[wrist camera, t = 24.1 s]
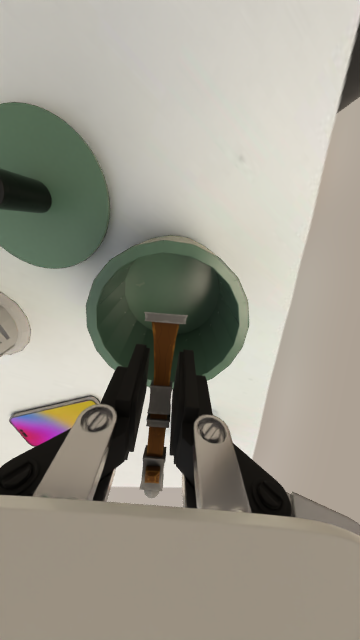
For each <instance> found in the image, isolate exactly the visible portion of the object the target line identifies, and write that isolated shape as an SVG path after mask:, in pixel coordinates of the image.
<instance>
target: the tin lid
mask: <svg viewBox="0 0 360 640" xmlns="http://www.w3.org/2000/svg"><path fill="white" fill-rule="evenodd" d="M109 216H110V201H109V193H108V188H107V184H106V181H105V177H104V174H103V172H102V169H101V167H100V165H99V163H98V161H97V159H96V157H95V155H94V154H93V152H92V151H91V149H90V148H89V146H88V145H87V144H86V142H85V141H84V140H83V139H82V138H81V136H80V135H79V134H78V133H77V132H76V131H75V130H74V129H73V128H71V127H70V126H69V125H68V124H67V123H66V122H64V121H63V120H62V119H60V118H59V117H58V116H56V115H54V114H52V113H51V112H49V111H47V110H45V109H42V108H40V107H38V106H34V105H31V104H27V103H18V102H11V103H3V104H0V246H1V247H3V248H4V249H5V250H6V251H8V252H9V253H11V254H12V255H14V256H15V257H17V258H19V259H20V260H23V261H25V262H27V263H29V264H32V265H35V266H39V267H44V268H53V269H56V268H66V267H70V266H73V265H76V264H79V263H81V262H82V261H84V260H86V259H87V258H88V257H90V256H91V255H92V254H93V253H94V252H95V251H96V250H97V249H98V247H99V246H100V244H101V243H102V241H103V238H104V236H105V234H106V231H107V228H108V223H109Z"/></svg>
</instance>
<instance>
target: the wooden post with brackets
mask: <svg viewBox="0 0 360 640" xmlns="http://www.w3.org/2000/svg"><path fill="white" fill-rule="evenodd" d="M144 313H145V321H151V322H152V329H153V339H154V380H153V379H152V382H151V385H150V392H151V393H150V403H149V409H148V412H147V413H148V416H147V425H146V426H149V436H148V445H146V448H145V451H144V455H143V471H142V481H141V485H140V489H143V490H144V492H145V495H146V496H147V497H149V498H154V497H156V496H157V495H158V494H159V491H162V488H163V476H164V475H163V468H164V463H165V457H166V447H164V439H165V430H166V428H169V422H170V408H171V404H170V399H171V391H172V384H173V381H170V376H171V367H172V361H173V354H174V348H175V342H176V337H177V332H178V328H179V324H186V318H187V316H188V315H176V314H164V313H152V312H144Z"/></svg>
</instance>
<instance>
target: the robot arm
mask: <svg viewBox="0 0 360 640" xmlns="http://www.w3.org/2000/svg"><path fill="white" fill-rule="evenodd" d="M149 356H150V348H147V345H143V344H136V346H135V349H134V351H133V354H132V357H131V359H130V362H129V365H128V367H122V366H117V368H116V370H115V372H114V374H113V376H112V379H111V381H110V383H109V385H108V387H107V390H106V392H105V394H104V396H103V398H102V401H101V403H100V404H96V405H92V406H90V407H88V408H86V409H85V410H83V411H82V412H81V413H80V415H79V416H78V418H77V419H76V421H75V423H74V425H73V426H72V428H70V429H68V430H66V431H65V432H63V433H61V434H59V435H57V436H55V437H53V438H51V439H49V440H47V441H46V442H44V443H42V444H40V445H38V446H36V447H34V448H32V449H30V450H28V451H27V452H25V453H23V454H21V455H19V456H17V457H15V458H13V459H12V460H10V461H9V462H7V463H5V464H4V465H3V466H2V467H1V468H0V640H360V525H359V524H358V523H357V522H355V521H354V520H352V519H350V518H349V517H347V516H344V515H342V514H340V513H338V512H336V511H334V510H331V509H329V508H327V507H325V506H323V505H320V504H318V503H316V502H314V501H312V500H310V499H307V498H305V497H303V496H301V495H299V494H297V493H294V492H292V493H291V494H289V493H287V492H285V490H284V488H283V487H282V486H281V485H280V484H279V483H278V482H277V481H276V480H275V479H274V478H273V477H272V476H270V475H269V474H268V473H267V472H266V471H264V470H263V469H262V468H261V467H260V466H259V465H258V464H256V463H255V462H254V461H253V460H252V459H251V458H250V457H248V456H247V455H246V454H245V453H244V452H243V451H242V450H240V449H239V448H238V447H237V446H236V445H235V444H233V442H232V439H231V435H230V431H229V429H228V427H227V425H226V424H225V422H224V421H222V420H221V419H220V418H218V417H216V416H214V415H213V414H212V408H211V403H210V397H209V391H208V385H207V380H206V376H202V375H196V370H195V361H194V352H193V350H186V349H183V352H180V351H179V356H178V362H177V368H176V374H175V380H174V387H173V395H172V415H171V437H170V455H173V456H174V464H176V466H177V468H178V469H179V470H180V471H181V472H182V494H183V507H169V506H156V505H143V504H130V503H116V502H107V499H108V495H109V492H110V488H111V485H112V482H113V478H114V475H115V470H116V467H118V466H119V465H120V464H122V463H123V462H124V460H127V458H128V453H129V452H133V451H134V447H135V442H136V437H137V432H138V428H139V423H140V418H141V413H142V408H143V403H144V399H145V394H146V388H147V378H148V367H149Z"/></svg>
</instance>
